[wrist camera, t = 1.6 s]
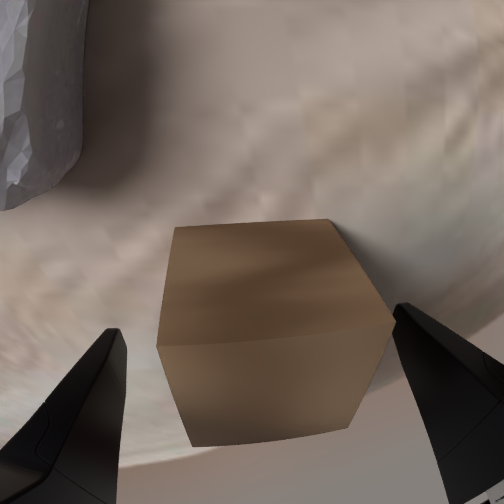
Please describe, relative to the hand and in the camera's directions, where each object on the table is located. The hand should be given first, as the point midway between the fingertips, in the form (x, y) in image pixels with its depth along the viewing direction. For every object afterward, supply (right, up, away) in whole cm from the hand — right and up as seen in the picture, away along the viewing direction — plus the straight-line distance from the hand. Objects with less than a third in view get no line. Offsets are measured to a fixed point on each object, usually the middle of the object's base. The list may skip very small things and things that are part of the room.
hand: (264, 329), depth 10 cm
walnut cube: (0, +1, +2) cm, 2 cm away
